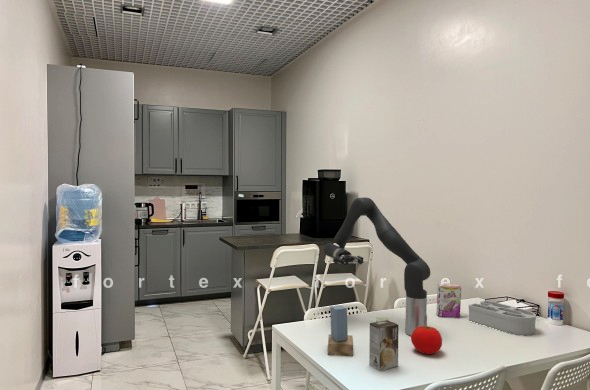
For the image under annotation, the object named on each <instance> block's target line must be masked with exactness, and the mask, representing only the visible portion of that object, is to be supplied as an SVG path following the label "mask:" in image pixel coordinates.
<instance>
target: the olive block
mask: <svg viewBox="0 0 590 390" xmlns="http://www.w3.org/2000/svg"><path fill="white" fill-rule="evenodd" d="M385 320H389V321H390V318H387V317H376V321H375V322H380V321H385Z"/></svg>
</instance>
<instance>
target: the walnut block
mask: <svg viewBox="0 0 590 390" xmlns="http://www.w3.org/2000/svg"><path fill="white" fill-rule="evenodd" d="M327 338H328V341H327V355H328V356H342V357H343V356H345V357H354V337H353V335H349V334H348V340H345V341H339V342H336V341H335V340H333V339H332V338H331V333H330V334H328V337H327Z"/></svg>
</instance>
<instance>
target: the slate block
mask: <svg viewBox="0 0 590 390" xmlns="http://www.w3.org/2000/svg"><path fill="white" fill-rule="evenodd" d="M329 310H330V334H331V338H332V339H333V340H335V341H336V342H339V341H345V340H348V335H349V334H348V332H349V331H348V308H347V307H346V306H344V305H341V304H340V305H334V306H333V305H332V306H330V309H329Z"/></svg>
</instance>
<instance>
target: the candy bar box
mask: <svg viewBox="0 0 590 390" xmlns="http://www.w3.org/2000/svg"><path fill="white" fill-rule="evenodd" d="M461 301H462V286H460V285H459V284H449V283H448V284H447V283H446V284H443V283H438V284H437V289H436V316H437V317H439V318H453V317H460V318H461Z"/></svg>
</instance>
